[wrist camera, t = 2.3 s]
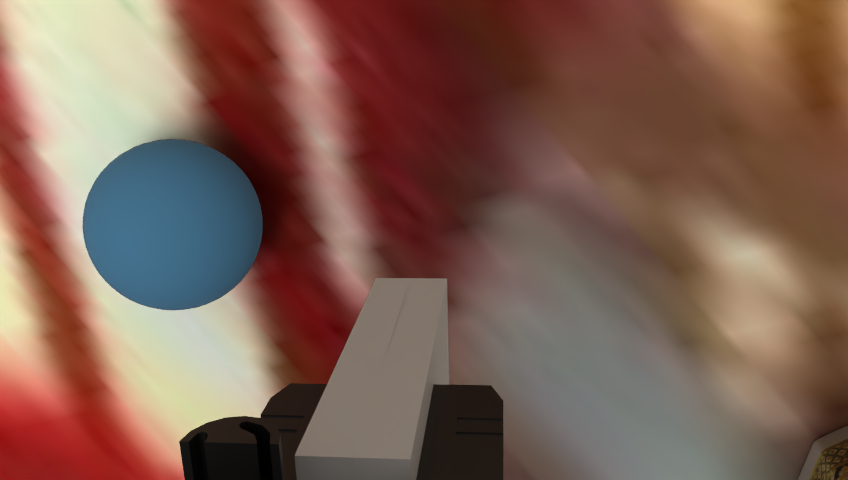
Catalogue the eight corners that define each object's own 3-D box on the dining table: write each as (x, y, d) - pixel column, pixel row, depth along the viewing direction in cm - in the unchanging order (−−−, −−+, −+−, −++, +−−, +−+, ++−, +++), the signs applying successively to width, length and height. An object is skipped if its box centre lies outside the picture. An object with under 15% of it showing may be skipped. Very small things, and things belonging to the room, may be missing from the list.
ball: (288, 277, 30) (238, 339, 24) (144, 276, 31) (62, 337, 25) (275, 126, 28) (219, 155, 23) (123, 128, 29) (30, 157, 23)
